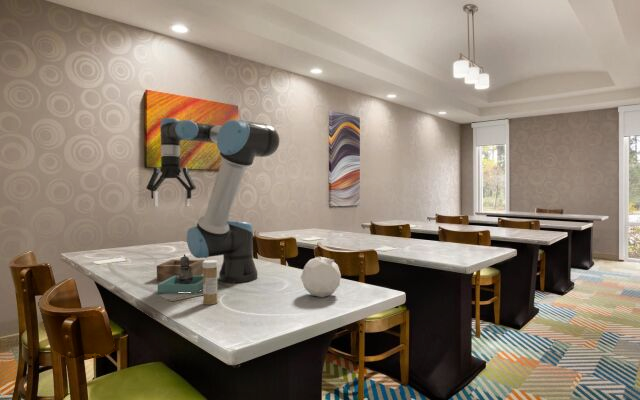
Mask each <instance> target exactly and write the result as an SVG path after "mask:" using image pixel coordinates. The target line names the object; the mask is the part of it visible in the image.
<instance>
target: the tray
mask: <svg viewBox="0 0 640 400" xmlns="http://www.w3.org/2000/svg"><path fill="white" fill-rule="evenodd" d="M177 277H179V276H173V277H171V278H169V279H167V280H165V281H160V282H159V283H157V294H179V293H178V292H191V293H197V292H199V291H200V290H202V289H203V275H201V276H193V280H192V282H191V283H190V284H179V283H178V281H177ZM202 291H203V290H202ZM200 292H201V291H200ZM200 292H199V293H200ZM197 294H198V293H197Z"/></svg>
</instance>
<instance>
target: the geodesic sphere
mask: <svg viewBox="0 0 640 400" xmlns="http://www.w3.org/2000/svg"><path fill="white" fill-rule="evenodd" d="M300 279H301V282H302V285H303V287H304V290H306V292H307V293H308V294H310V295H311V296H315V297H320V298H325V297H328V296H330V295H333V294H334V293H335V291H337V289H338V287H340V283H341V279H342V275H341V271H340V267H339V265H338V264H337V263H336V262H335V259H333V258H329V257H328V258H327V257H324V256H323V257H322V256H315V257H314V258H311V259H309V260H308V261H307V262H306V263H305V265H304V267H303V270H302V273H301V276H300Z"/></svg>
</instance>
